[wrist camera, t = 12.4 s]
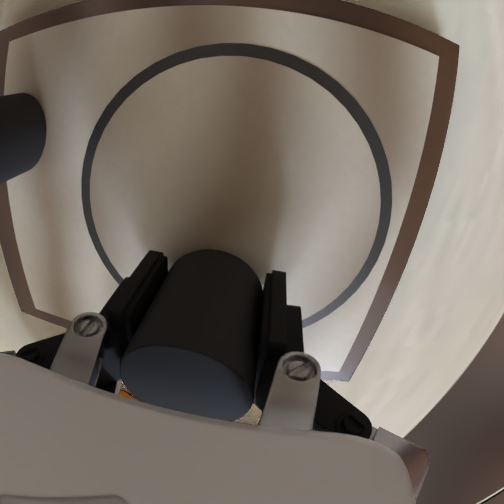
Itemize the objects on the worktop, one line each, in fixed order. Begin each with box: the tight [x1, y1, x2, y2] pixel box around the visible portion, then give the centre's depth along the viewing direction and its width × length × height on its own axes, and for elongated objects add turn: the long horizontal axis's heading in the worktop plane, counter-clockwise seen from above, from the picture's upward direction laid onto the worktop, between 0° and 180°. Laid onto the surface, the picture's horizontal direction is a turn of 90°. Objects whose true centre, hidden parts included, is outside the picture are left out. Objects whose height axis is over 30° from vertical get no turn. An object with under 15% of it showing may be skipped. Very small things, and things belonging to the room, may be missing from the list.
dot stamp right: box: [120, 249, 263, 422], centre depth 10 cm, size 4×4×5 cm
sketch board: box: [0, 0, 459, 382], centre depth 12 cm, size 22×18×2 cm
